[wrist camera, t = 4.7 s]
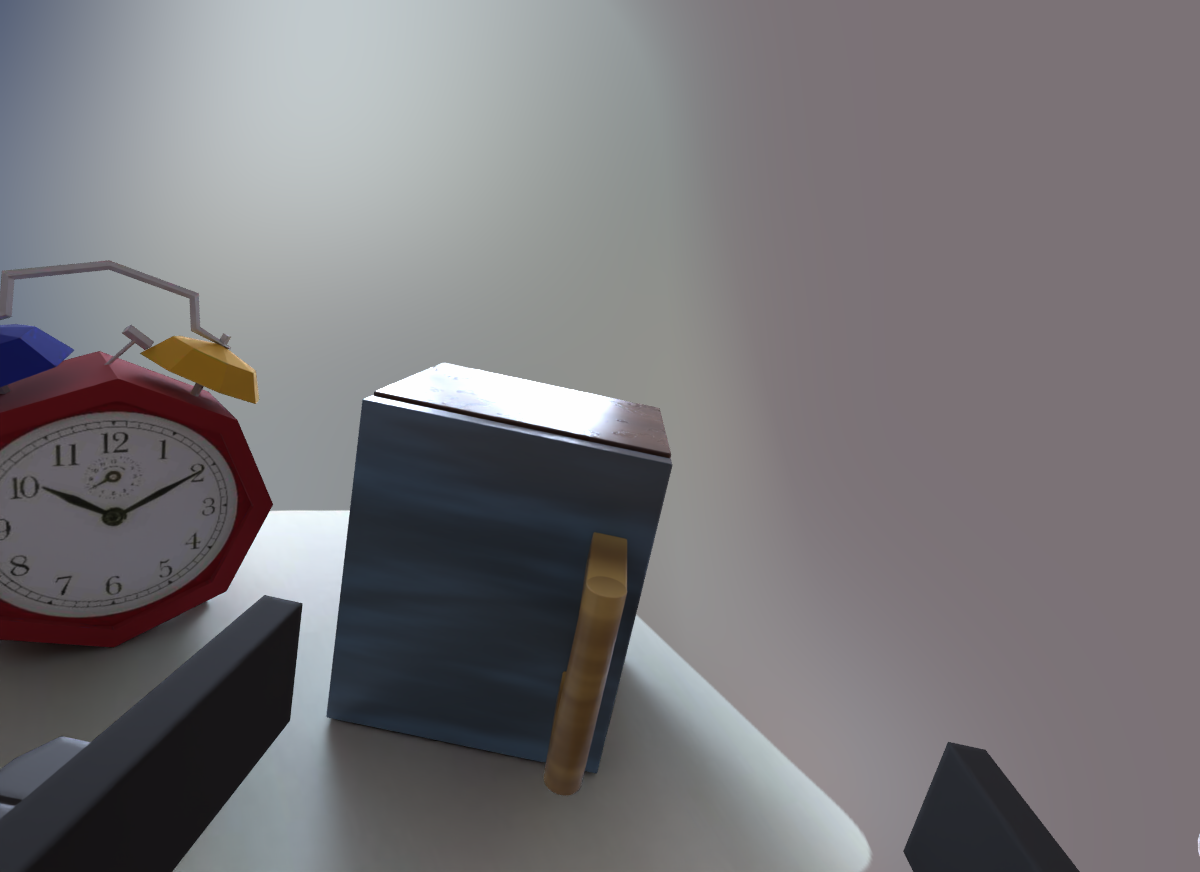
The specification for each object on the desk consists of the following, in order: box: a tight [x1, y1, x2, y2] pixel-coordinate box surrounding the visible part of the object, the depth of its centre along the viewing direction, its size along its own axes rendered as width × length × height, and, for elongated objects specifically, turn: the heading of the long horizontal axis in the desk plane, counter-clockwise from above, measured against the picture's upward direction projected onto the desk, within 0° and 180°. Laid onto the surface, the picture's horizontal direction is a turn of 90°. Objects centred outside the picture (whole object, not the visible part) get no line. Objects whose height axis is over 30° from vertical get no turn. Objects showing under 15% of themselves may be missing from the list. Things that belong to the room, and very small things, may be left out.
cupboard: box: [374, 363, 671, 458], centre depth 36 cm, size 11×14×17 cm
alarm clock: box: [0, 261, 273, 647], centre depth 34 cm, size 15×9×20 cm, turn 135°
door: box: [327, 396, 672, 796], centre depth 27 cm, size 7×14×17 cm, turn 88°
